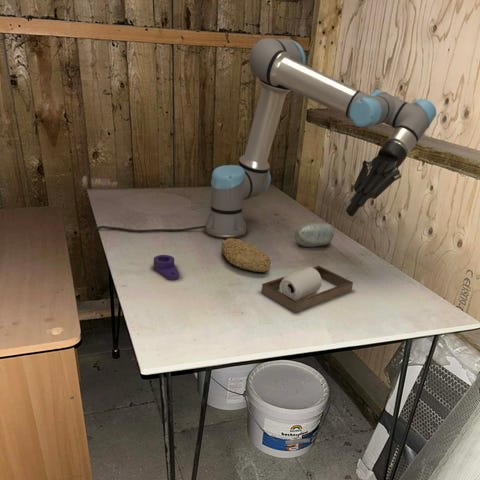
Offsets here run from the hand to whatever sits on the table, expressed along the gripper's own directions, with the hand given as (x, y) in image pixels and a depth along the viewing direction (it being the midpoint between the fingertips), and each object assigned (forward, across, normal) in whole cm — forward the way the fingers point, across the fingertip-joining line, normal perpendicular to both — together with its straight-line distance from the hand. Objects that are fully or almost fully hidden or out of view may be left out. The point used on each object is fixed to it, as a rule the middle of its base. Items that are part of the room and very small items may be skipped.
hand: (349, 213), depth 138 cm
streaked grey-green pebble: (+5, +25, -27) cm, 37 cm away
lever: (+45, +33, +13) cm, 57 cm away
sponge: (+28, +25, -4) cm, 37 cm away
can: (+21, 0, -5) cm, 21 cm away
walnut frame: (+25, 0, -6) cm, 26 cm away
